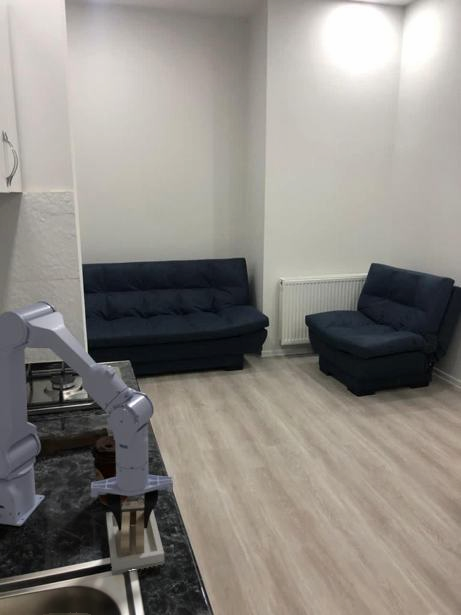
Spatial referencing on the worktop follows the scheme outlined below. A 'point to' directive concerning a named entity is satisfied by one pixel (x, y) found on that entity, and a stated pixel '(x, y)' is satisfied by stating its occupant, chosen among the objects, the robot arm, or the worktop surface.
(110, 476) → the coffee cup
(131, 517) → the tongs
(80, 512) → the worktop surface
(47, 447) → the hand tool
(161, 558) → the tray
